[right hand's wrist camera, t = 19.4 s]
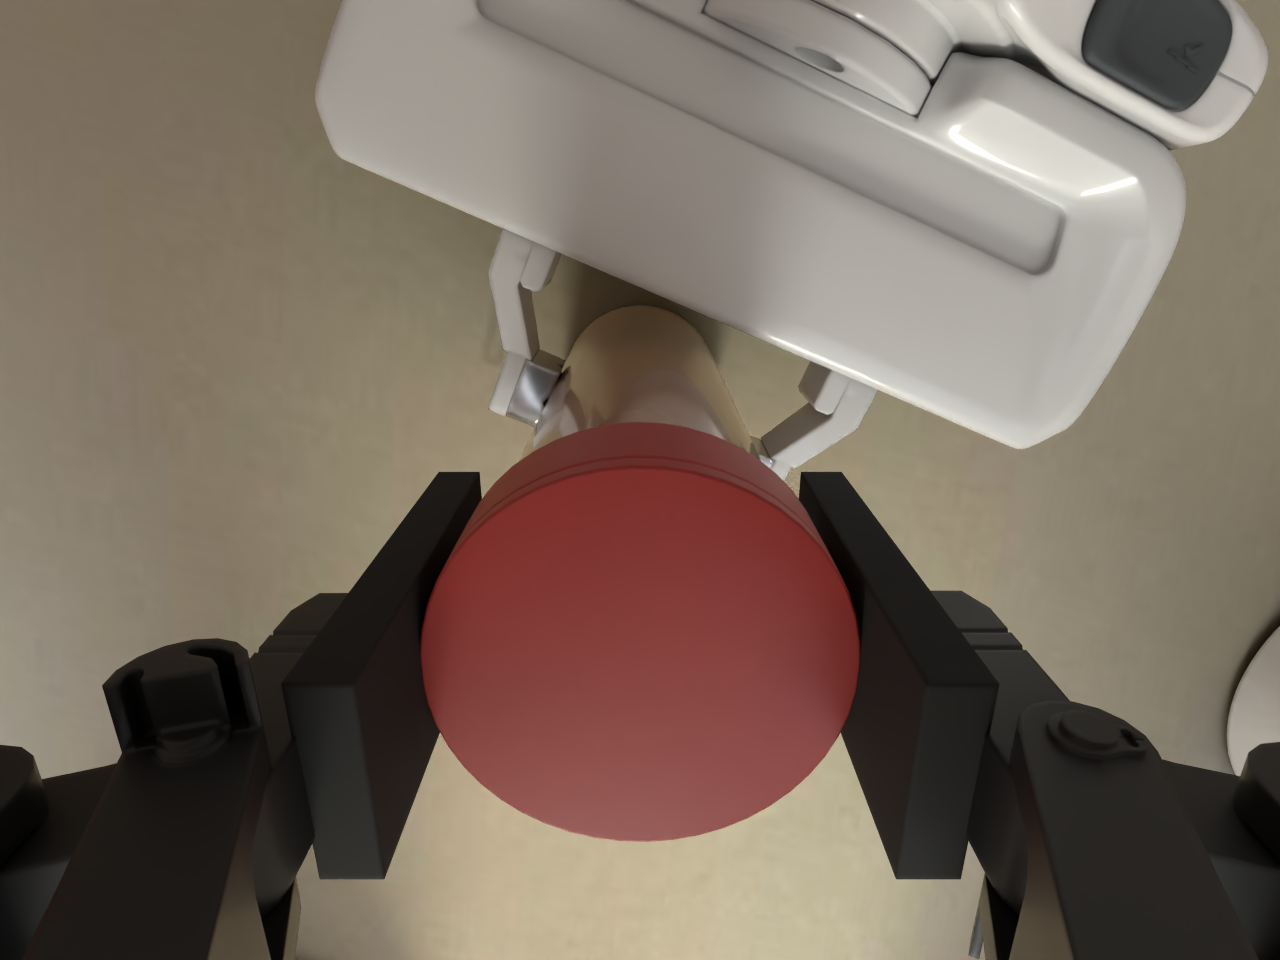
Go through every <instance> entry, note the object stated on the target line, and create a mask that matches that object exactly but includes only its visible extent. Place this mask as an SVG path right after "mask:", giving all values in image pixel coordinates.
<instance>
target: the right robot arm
mask: <svg viewBox="0 0 1280 960" xmlns="http://www.w3.org/2000/svg"><path fill="white" fill-rule="evenodd" d="M481 500H482V498H481V485H480V473H479V472H439V473H438V474H437V475H436V477H435V478H434V479H433V481H432V482H431V483H430V485H429V486H428V487H427V489H426V490H425V491H424V493H423V494H422V495H421V497H420V498H419V499H418V501H417V502H416V504H415V505H414V506H413V508H412V509H411V510H410V512H409V513H408V514H407V516H406V517H405V518H404V520H403V521H402V522H401V524H400V525H399V526H398V528H397V529H396V530H395V532H394V533H393V534H392V536H391V537H390V538H389V540H388V541H387V542H386V544H385V545H384V546H383V548H382V549H381V550H380V552H379V553H378V554H377V556H376V557H375V558H374V560H373V561H372V562H371V564H370V565H369V566H368V568H367V569H366V571H365V572H364V573H363V575H362V576H361V577H360V579H359V580H358V581H357V583H356V584H355V585H354V587H353V588H352V589H351V591H350V592H349V593H319V594H317V595H316V596H314V597H313V598H311V599H309V600H308V601H306V602H304V603H303V604H301V605H299V606H298V607H296V608H295V609H293V610H291V611H290V612H289V614H288V615H287V616H286V617H285V618H284V619H283V621H282V622H281V623H280V624H279V625H278V626H277V628H276V629H275V630H274V631H273V635H270V636H269V637H268V638H267V639H266V640H265V642H264V643H263V644H262V645H261V646H260V647H259V652H258V653H254V654H253V656H252V657H251V658H250V659H249V656H248V651H247V650H246V649H245V648H244V647H242V646H241V645H240V644H238V643H237V642H234V641H228V640H223V639H218V638H215V639H198V640H189V641H185V642H181V643H176V644H172V645H168V646H164V647H161V648H159V649H156V650H154V651H151V652H149V653H146V654H144V655H141V656H139V657H137V658H135V659H134V660H132V661H131V662H129V663H127V664H126V665H124V666H123V667H121V668H119V669H118V670H116V671H115V672H114V673H113V674H112V675H111V677H110V678H109V679H108V680H107V681H106V682H105V683H104V684H103V685H102V687H103V690H104V694H105V697H106V700H107V704H108V707H109V710H110V714H111V717H112V721H113V724H114V727H115V731H116V734H117V737H118V741H119V744H120V747H121V751H122V754H121V756H120V758H119V760H118V763H116V764H112V765H108V766H104V767H99V768H95V769H90V770H85V771H80V772H75V773H70V774H66V775H61V776H56V777H51V778H46V779H41V776H40V773H39V770H38V768H37V765H36V762H35V759H34V756H33V755H32V754H30V753H29V752H28V751H26V750H25V749H23V748H22V747H16V746H6V745H0V960H295V953H296V945H297V937H298V929H299V920H300V912H301V903H300V896H299V890H298V885H297V880H296V874H297V872H298V870H299V868H300V866H301V865H302V863H303V861H304V859H305V857H306V855H307V853H308V851H309V849H310V847H311V845H312V843H313V848H314V853H315V858H316V863H317V868H318V873H319V878H320V879H385V876H386V873H387V871H388V868H389V865H390V863H391V860H392V857H393V855H394V852H395V849H396V847H397V844H398V841H399V839H400V836H401V834H402V831H403V828H404V826H405V823H406V820H407V818H408V815H409V812H410V810H411V807H412V804H413V802H414V799H415V797H416V794H417V791H418V789H419V786H420V783H421V781H422V778H423V775H424V773H425V770H426V767H427V765H428V762H429V759H430V757H431V754H432V752H433V749H434V746H435V744H436V741H437V738H438V736H439V733H440V731H439V729H438V727H437V726H436V723H435V721H434V718H433V716H432V713H431V711H430V708H429V706H428V703H427V699H426V695H425V691H424V683H423V675H422V667H421V658H420V640H421V628H422V624H423V619H424V615H425V611H426V606H427V603H428V600H429V598H430V595H431V593H432V590H433V588H434V585H435V583H436V580H437V578H438V577H439V575H440V573H441V571H442V569H443V568H444V565H445V564H446V562H447V560H448V558H449V556H450V554H451V553H452V551H453V549H454V547H455V545H456V543H457V541H458V540H459V538H460V536H461V534H462V532H463V530H464V528H465V527H466V525H467V523H468V521H469V519H470V518H471V516H472V514H473V513H474V511H475V509H476V507H477V506H478V504H479V502H480V501H481ZM799 501H800V502H801V504H802V505H803V507H804V508H805V509H806V511H807V513H808V515H809V517H810V518H811V520H812V522H813V524H814V526H815V528H816V530H817V531H818V533H819V535H820V537H821V539H822V541H823V543H824V544H825V546H826V548H827V550H828V552H829V554H830V556H831V558H832V559H833V561H834V563H835V565H836V567H837V569H838V571H839V573H840V575H841V577H842V579H843V581H844V583H845V585H846V587H847V589H848V591H849V593H850V597H851V600H852V603H853V606H854V609H855V612H856V615H857V621H858V628H859V634H860V663H859V671H858V679H857V687H856V694H855V697H854V700H853V703H852V706H851V709H850V713H849V715H848V717H847V719H846V721H845V724H844V726H843V728H842V730H841V734H842V737H843V740H844V742H845V745H846V748H847V750H848V753H849V756H850V758H851V761H852V764H853V766H854V769H855V772H856V774H857V777H858V779H859V782H860V785H861V787H862V790H863V793H864V795H865V798H866V801H867V803H868V806H869V809H870V811H871V814H872V816H873V819H874V822H875V824H876V827H877V830H878V832H879V835H880V838H881V840H882V843H883V846H884V848H885V851H886V854H887V856H888V859H889V861H890V864H891V867H892V869H893V872H894V875H895V877H896V879H961V875H962V870H963V865H964V860H965V855H966V850H967V845H968V840H969V842H970V844H971V846H972V848H973V850H974V852H975V854H976V856H977V858H978V860H979V862H980V864H981V866H982V867H983V869H984V871H985V876H984V880H983V885H982V890H981V894H980V899H979V904H978V909H977V913H976V918H975V923H974V927H973V932H972V937H971V942H970V949H969V956H971V957H975V958H978V959H979V957H980V952H981V948H982V943H984V951H985V959H986V960H1280V742H1273V743H1263V744H1259V745H1258V746H1257V747H1255V748H1254V749H1252V750H1251V751H1250V752H1248V755H1247V758H1246V761H1245V764H1244V767H1243V769H1242V772H1241V775H1240V776H1236V775H1231V774H1226V773H1221V772H1217V771H1212V770H1207V769H1202V768H1197V767H1192V766H1188V765H1183V764H1178V763H1174V762H1170V761H1166V760H1162V759H1161V757H1160V755H1159V753H1158V751H1157V750H1156V749H1155V747H1154V746H1153V745H1152V744H1151V742H1150V741H1149V740H1148V739H1147V737H1146V736H1145V735H1144V734H1142V733H1141V732H1140V731H1138V730H1137V729H1136V728H1134V727H1133V726H1131V725H1130V724H1129V723H1127V722H1126V721H1124V720H1122V719H1120V718H1118V717H1116V716H1114V715H1112V714H1109V713H1107V712H1105V711H1103V710H1101V709H1098V708H1095V707H1091V706H1087V705H1083V704H1080V703H1076V702H1070V700H1069V699H1068V698H1067V697H1066V696H1065V695H1064V693H1063V692H1062V691H1061V690H1060V689H1059V688H1058V686H1057V685H1056V684H1055V683H1054V682H1053V681H1052V680H1051V678H1050V677H1049V676H1048V675H1047V674H1046V673H1045V671H1044V670H1043V669H1042V668H1041V667H1040V666H1039V664H1038V663H1037V662H1036V661H1035V660H1034V659H1033V657H1032V656H1031V655H1030V654H1029V653H1028V652H1027V651H1026V650H1023V649H1022V645H1021V644H1020V642H1019V641H1018V640H1017V639H1016V638H1015V637H1014V635H1013V634H1012V633H1008V628H1007V627H1006V626H1005V625H1004V624H1003V623H1002V622H1001V620H1000V619H999V618H998V617H997V616H996V615H995V613H994V612H993V611H992V610H991V609H990V608H989V607H987V606H986V605H984V604H982V603H981V602H979V601H977V600H976V599H974V598H972V597H971V596H969V595H967V594H966V593H964V592H962V591H930V590H929V589H928V587H927V586H926V585H925V583H924V582H923V581H922V579H921V578H920V577H919V575H918V574H917V573H916V571H915V570H914V569H913V567H912V566H911V564H910V563H909V562H908V560H907V559H906V558H905V556H904V555H903V554H902V552H901V551H900V550H899V548H898V547H897V546H896V544H895V543H894V542H893V540H892V539H891V538H890V536H889V535H888V534H887V532H886V531H885V530H884V528H883V527H882V526H881V524H880V523H879V522H878V520H877V519H876V518H875V516H874V515H873V514H872V512H871V511H870V510H869V508H868V507H867V506H866V504H865V503H864V502H863V500H862V499H861V498H860V496H859V495H858V493H857V492H856V491H855V489H854V488H853V487H852V485H851V484H850V483H849V481H848V480H847V479H846V477H845V476H844V475H843V473H842V472H801V479H800V491H799Z"/></svg>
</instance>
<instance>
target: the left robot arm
mask: <svg viewBox="0 0 1280 960" xmlns="http://www.w3.org/2000/svg"><path fill="white" fill-rule="evenodd" d="M1267 67H1268V50H1267V47H1266V44H1265V41H1264V39H1263V37H1262V35H1261V33H1260V31H1259V30H1258V28H1257V27H1256V26H1255V24H1254V23H1253V21H1252V20H1251V19H1250V17H1249V16H1248V15H1247V13H1246V12H1245V11H1244V9H1243V8H1242V7H1241V6H1240V4H1239V3H1238V2H1237V1H1236V0H342V1H341V4H340V7H339V10H338V13H337V16H336V19H335V22H334V25H333V28H332V31H331V34H330V38H329V41H328V44H327V47H326V51H325V54H324V57H323V60H322V64H321V67H320V71H319V75H318V79H317V82H316V89H315V102H316V107H317V110H318V113H319V115H320V118H321V121H322V123H323V126H324V129H325V131H326V134H327V136H328V139H329V141H330V144H331V146H332V148H333V150H334V152H335V153H336V154H337V155H338V156H339V157H340V158H342V159H344V160H346V161H348V162H350V163H352V164H355V165H357V166H359V167H361V168H364V169H366V170H368V171H371V172H373V173H375V174H378V175H380V176H382V177H385V178H387V179H389V180H392V181H394V182H396V183H399V184H401V185H403V186H406V187H408V188H410V189H413V190H415V191H417V192H420V193H422V194H424V195H427V196H429V197H431V198H433V199H436V200H438V201H440V202H443V203H445V204H447V205H450V206H452V207H454V208H457V209H459V210H461V211H464V212H466V213H468V214H471V215H473V216H475V217H478V218H480V219H482V220H485V221H487V222H489V223H492V224H494V225H496V226H499V227H501V228H503V229H502V232H501V235H500V238H499V241H498V244H497V247H496V250H495V253H494V256H493V259H492V262H491V265H490V268H489V271H488V276H489V281H490V286H491V291H492V296H493V301H494V306H495V311H496V316H497V321H498V325H499V330H500V335H501V340H502V345H503V349H504V350H506V351H508V352H507V355H506V358H505V361H504V364H503V366H502V369H501V372H500V375H499V378H498V380H497V383H496V386H495V389H494V392H493V394H492V397H491V400H490V404H489V410H492V411H494V412H496V413H498V414H500V415H503V416H507V417H509V418H512V419H515V420H517V421H520V422H523V423H525V424H528V425H531V426H533V427H535V426H536V424H537V422H538V420H539V417H540V415H541V413H542V411H543V409H544V407H545V405H546V402H547V400H548V398H549V396H550V394H551V393H552V391H553V389H554V387H555V385H556V383H557V381H558V378H559V376H560V374H561V371H562V369H563V366H564V364H565V361H566V360H564V359H561V358H559V357H557V356H554V355H552V354H550V353H548V352H545V351H543V350H541V349H539V348H540V345H539V339H538V333H537V326H536V320H535V313H534V307H533V301H532V294H531V290H532V291H534V292H538V291H540V290H542V289H543V288H544V287H545V286H546V285H548V284H549V283H550V282H551V280H552V277H553V275H554V272H555V269H556V267H557V264H558V261H559V259H560V256H561V254H564V255H566V256H568V257H571V258H573V259H575V260H578V261H580V262H582V263H584V264H587V265H589V266H591V267H594V268H596V269H598V270H601V271H603V272H605V273H608V274H610V275H612V276H615V277H617V278H619V279H622V280H624V281H626V282H629V283H631V284H633V285H636V286H638V287H640V288H643V289H645V290H647V291H650V292H652V293H654V294H657V295H659V296H661V297H663V298H666V299H668V300H670V301H673V302H675V303H677V304H680V305H682V306H684V307H687V308H689V309H691V310H694V311H696V312H698V313H701V314H703V315H705V316H708V317H710V318H712V319H715V320H717V321H719V322H722V323H724V324H726V325H729V326H731V327H733V328H735V329H738V330H740V331H742V332H745V333H747V334H749V335H752V336H754V337H756V338H759V339H761V340H763V341H766V342H768V343H770V344H773V345H775V346H777V347H780V348H782V349H784V350H787V351H789V352H791V353H794V354H796V355H798V356H801V357H803V358H805V359H808V360H810V363H809V366H808V368H807V370H806V372H805V374H804V376H803V378H802V380H801V382H800V384H799V386H798V387H799V390H800V392H801V393H802V394H803V396H804V397H805V398H806V399H807V400H808V401H809V403H808V404H806V405H805V406H804V407H802V408H801V409H800V410H798V411H797V412H795V413H794V414H793V415H791V416H790V417H789V418H787V419H786V420H785V421H783V422H782V423H780V424H779V425H778V426H776V427H775V428H774V429H772V430H771V431H770V432H768V433H767V434H765V435H764V436H763V437H761V440H760V439H757V438H755V437H752V436H750V435H749V436H750V438H751V440H752V442H753V444H754V447H755V449H756V451H757V453H758V455H759V457H760V459H761V461H762V462H763V463H764V464H765V465H766V466H768V467H769V468H770V469H771V470H772V471H774V472H775V473H776V474H777V475H778V476H779V477H780V478H781V479H782V480H783V481H784V479H785V478H786V476H787V474H788V472H789V470H790V468H791V467H793V468H797V467H798V466H800V465H801V464H803V463H804V462H806V461H808V460H809V459H811V458H812V457H814V456H815V455H817V454H818V453H820V452H822V451H823V450H825V449H826V448H828V447H829V446H831V445H833V444H834V443H836V442H837V441H839V440H840V439H842V438H843V437H845V436H847V435H848V434H850V433H851V432H853V431H854V430H856V429H857V428H858V426H859V424H860V422H861V421H862V419H863V417H864V415H865V413H866V411H867V410H868V408H869V406H870V404H871V402H872V400H873V399H874V397H875V395H876V393H877V391H878V390H880V391H882V392H884V393H886V394H889V395H891V396H893V397H896V398H898V399H900V400H903V401H905V402H907V403H910V404H912V405H914V406H917V407H919V408H921V409H924V410H926V411H928V412H931V413H933V414H935V415H938V416H940V417H942V418H945V419H947V420H949V421H952V422H954V423H956V424H959V425H961V426H963V427H965V428H968V429H970V430H972V431H975V432H977V433H979V434H982V435H984V436H986V437H989V438H991V439H993V440H996V441H998V442H1000V443H1003V444H1005V445H1008V446H1010V447H1012V448H1015V449H1026V448H1028V447H1031V446H1033V445H1035V444H1038V443H1040V442H1042V441H1044V440H1046V439H1048V438H1050V437H1052V436H1054V435H1056V434H1058V433H1060V432H1061V431H1063V430H1065V429H1067V428H1068V427H1069V426H1071V425H1072V424H1073V423H1074V422H1075V420H1076V419H1077V418H1078V417H1079V416H1080V415H1081V414H1082V412H1083V411H1084V409H1085V408H1086V406H1087V405H1088V404H1089V402H1090V401H1091V399H1092V398H1093V397H1094V395H1095V394H1096V392H1097V390H1098V389H1099V387H1100V386H1101V384H1102V382H1103V381H1104V379H1105V378H1106V376H1107V375H1108V373H1109V371H1110V370H1111V368H1112V367H1113V365H1114V363H1115V362H1116V360H1117V358H1118V356H1119V355H1120V353H1121V351H1122V350H1123V348H1124V346H1125V345H1126V343H1127V341H1128V339H1129V338H1130V336H1131V334H1132V332H1133V331H1134V329H1135V327H1136V325H1137V324H1138V322H1139V320H1140V318H1141V316H1142V315H1143V313H1144V311H1145V309H1146V308H1147V306H1148V304H1149V302H1150V300H1151V298H1152V296H1153V294H1154V292H1155V290H1156V288H1157V286H1158V284H1159V282H1160V280H1161V278H1162V276H1163V274H1164V272H1165V270H1166V268H1167V266H1168V264H1169V262H1170V260H1171V258H1172V255H1173V253H1174V251H1175V248H1176V246H1177V243H1178V240H1179V237H1180V234H1181V231H1182V227H1183V223H1184V219H1185V212H1186V198H1187V197H1186V185H1185V180H1184V176H1183V173H1182V171H1181V168H1180V166H1179V164H1178V162H1177V161H1176V159H1175V157H1174V156H1173V155H1172V154H1171V152H1170V151H1169V150H1175V149H1179V148H1184V147H1189V146H1193V145H1198V144H1202V143H1206V142H1210V141H1213V140H1216V139H1217V138H1219V137H1221V136H1222V135H1224V134H1225V133H1226V132H1227V131H1228V130H1229V129H1231V127H1232V126H1233V125H1234V124H1235V123H1236V122H1237V120H1238V119H1239V118H1240V117H1241V115H1242V114H1243V113H1244V111H1245V110H1246V108H1247V107H1248V105H1249V104H1250V102H1251V101H1252V99H1253V96H1255V95H1256V93H1257V91H1258V89H1259V88H1260V86H1261V84H1262V82H1263V79H1264V77H1265V74H1266V71H1267ZM1273 742H1280V626H1279V627H1278V628H1277V629H1276V630H1275V631H1274V632H1273V634H1272V635H1271V636H1270V637H1269V638H1268V639H1267V640H1266V642H1265V643H1264V644H1263V646H1262V647H1261V648H1260V649H1259V651H1258V652H1257V654H1256V655H1255V657H1254V658H1253V659H1252V661H1251V662H1250V664H1249V666H1248V668H1247V669H1246V671H1245V673H1244V675H1243V677H1242V679H1241V681H1240V683H1239V685H1238V687H1237V690H1236V692H1235V695H1234V698H1233V701H1232V704H1231V708H1230V712H1229V717H1228V723H1227V748H1228V755H1229V758H1230V762H1231V765H1232V768H1233V771H1234V773H1235V775H1236V776H1240V775H1241V772H1242V769H1243V767H1244V764H1245V761H1246V758H1247V755H1248V752H1250V751H1251V750H1252V749H1254V748H1255V747H1257V746H1258V745H1259V744H1263V743H1273Z"/></svg>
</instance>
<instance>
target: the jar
mask: <svg viewBox="0 0 1280 960" xmlns="http://www.w3.org/2000/svg"><path fill="white" fill-rule="evenodd" d="M629 422H648V423H664V424H670V425H677V426H683V427H688V428H691V429H695V430H698V431H702V432H705V433H709V434H712V435H714V436H716V437H719V438H721V439H723V440H725V441H728V442H730V443H732V444H735V445H736V446H738V447H740V448H741V449H743V450H745V451H746V452H748V453H750V454H751V455H753V456H755V457H756V458H758V459H759V460H760V461H761V459H760V457H759V455H758V453H757V451H756V449H755V447H754V444H753V442H752V440H751V438H750V436H749V434H748V432H747V429H746V427H745V425H744V423H743V421H742V419H741V417H740V415H739V412H738V410H737V408H736V406H735V404H734V402H733V400H732V398H731V395H730V393H729V391H728V389H727V387H726V385H725V383H724V380H723V378H722V376H721V374H720V372H719V370H718V368H717V366H716V363H715V361H714V359H713V357H712V355H711V353H710V351H709V348H708V347H707V345H706V343H705V341H704V339H703V338H702V337H701V335H700V334H699V333H698V331H697V330H696V329H695V328H694V327H693V326H692V325H691V324H690V323H688V322H687V321H686V320H684V319H683V318H682V317H680V316H678V315H676V314H675V313H673V312H670V311H668V310H665V309H662V308H658V307H654V306H646V305H634V306H627V307H622V308H618V309H615V310H612V311H610V312H608V313H606V314H604V315H602V316H600V317H599V318H597V319H596V320H595V321H593V322H592V323H591V324H590V325H588V327H587V328H586V329H585V330H584V331H583V332H582V333H581V334H580V336H579V337H578V339H577V340H576V342H575V344H574V345H573V347H572V349H571V351H570V353H569V356H568V358H567V360H566V362H565V364H564V366H563V369H562V371H561V374H560V376H559V378H558V381H557V383H556V385H555V387H554V389H553V391H552V393H551V394H550V396H549V398H548V400H547V402H546V405H545V407H544V409H543V411H542V413H541V415H540V417H539V420H538V422H537V424H536V426H535V428H534V430H533V432H532V434H531V437H530V439H529V441H528V443H527V445H526V447H525V449H524V452H523V454H522V456H521V458H520V460H519V461H521V460H522V459H523V458H525V457H526V456H528V455H529V454H530V453H532V452H533V451H535V450H537V449H539V448H541V447H543V446H545V445H547V444H549V443H550V442H552V441H554V440H556V439H559V438H562V437H564V436H567V435H570V434H573V433H575V432H578V431H581V430H585V429H590V428H594V427H598V426H603V425H608V424H618V423H629ZM761 462H762V461H761Z"/></svg>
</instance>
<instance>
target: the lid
mask: <svg viewBox="0 0 1280 960" xmlns="http://www.w3.org/2000/svg"><path fill="white" fill-rule="evenodd" d="M420 658H421V667H422V675H423V683H424V691H425V695H426V699H427V703H428V706H429V708H430V711H431V713H432V716H433V718H434V721H435V723H436V726H437V727H438V729H439V731H440V733H441V734H442V736H443V738H444V740H445V741H446V743H447V745H448V747H449V748H450V749H451V751H452V752H453V753H454V754H455V756H456V757H457V758H458V760H459V761H460V762H461V764H462V765H463V766H464V767H465V768H466V769H467V770H468V771H469V772H470V773H471V774H472V775H473V776H474V777H475V778H476V779H477V780H478V781H479V782H480V783H481V784H482V785H483V786H484V787H486V788H487V789H488V790H489V791H491V792H492V793H493V794H495V795H496V796H497V797H498V798H500V799H501V800H503V801H504V802H506V803H507V804H509V805H511V806H512V807H514V808H516V809H517V810H519V811H521V812H522V813H524V814H526V815H528V816H531V817H533V818H535V819H537V820H539V821H541V822H543V823H545V824H548V825H551V826H554V827H557V828H560V829H563V830H566V831H569V832H572V833H577V834H581V835H585V836H590V837H594V838H601V839H609V840H617V841H640V842H649V841H662V840H674V839H680V838H685V837H691V836H696V835H701V834H704V833H707V832H711V831H714V830H718V829H721V828H724V827H727V826H729V825H732V824H734V823H737V822H739V821H742V820H744V819H746V818H748V817H750V816H752V815H754V814H756V813H758V812H760V811H761V810H763V809H765V808H767V807H769V806H770V805H772V804H773V803H775V802H776V801H778V800H779V799H780V798H782V797H783V796H785V795H786V794H788V793H789V792H790V791H791V790H793V789H794V788H795V787H796V786H797V785H798V784H799V783H800V782H802V781H803V780H804V779H805V778H806V777H807V776H808V775H809V774H810V773H811V772H812V771H813V770H814V768H815V767H816V766H817V765H818V764H819V763H820V762H821V760H822V759H823V758H824V757H825V756H826V754H827V753H828V751H829V750H830V748H831V747H832V745H833V744H834V742H835V741H836V739H837V738H838V736H839V734H840V732H841V730H842V728H843V726H844V724H845V721H846V719H847V717H848V715H849V713H850V709H851V706H852V703H853V700H854V697H855V694H856V687H857V679H858V671H859V663H860V634H859V628H858V621H857V615H856V612H855V609H854V606H853V603H852V600H851V597H850V593H849V591H848V589H847V587H846V585H845V583H844V581H843V579H842V577H841V575H840V573H839V571H838V569H837V567H836V565H835V563H834V561H833V559H832V558H831V556H830V554H829V552H828V550H827V548H826V546H825V544H824V543H823V541H822V539H821V537H820V535H819V533H818V531H817V530H816V528H815V526H814V524H813V522H812V520H811V518H810V517H809V515H808V513H807V511H806V509H805V508H804V507H803V505H802V504H801V502H800V501H799V499H798V498H797V497H796V495H795V494H794V492H793V491H792V490H791V489H790V488H789V487H788V486H787V485H786V483H785V482H784V481H783V480H782V479H781V478H780V477H779V476H778V475H777V474H776V473H775V472H774V471H772V470H771V469H770V468H769V467H768V466H766V465H765V464H764V463H763V462H761V461H760V460H759V459H758V458H756V457H755V456H753V455H751V454H750V453H748V452H746V451H745V450H743V449H741V448H740V447H738V446H736V445H735V444H732V443H730V442H728V441H725V440H723V439H721V438H719V437H716V436H714V435H712V434H709V433H705V432H702V431H698V430H695V429H691V428H688V427H683V426H677V425H670V424H664V423H648V422H629V423H618V424H608V425H603V426H598V427H594V428H590V429H585V430H581V431H578V432H575V433H573V434H570V435H567V436H564V437H562V438H559V439H556V440H554V441H552V442H550V443H549V444H547V445H545V446H543V447H541V448H539V449H537V450H535V451H533V452H532V453H530V454H529V455H528V456H526V457H525V458H523V459H522V460H521V461H519V462H518V463H516V464H515V465H514V466H512V467H511V468H510V469H509V470H508V471H507V472H506V473H505V474H504V475H503V476H502V477H501V478H500V479H498V480H497V481H496V482H495V483H494V485H493V486H492V487H491V488H490V490H489V491H488V492H487V493H486V495H485V496H484V497H483V498H482V500H481V501H480V502H479V504H478V506H477V507H476V509H475V511H474V513H473V514H472V516H471V518H470V519H469V521H468V523H467V525H466V527H465V528H464V530H463V532H462V534H461V536H460V538H459V540H458V541H457V543H456V545H455V547H454V549H453V551H452V553H451V554H450V556H449V558H448V560H447V562H446V564H445V565H444V568H443V569H442V571H441V573H440V575H439V577H438V578H437V580H436V583H435V585H434V588H433V590H432V593H431V595H430V598H429V600H428V603H427V606H426V611H425V615H424V619H423V624H422V628H421V640H420Z"/></svg>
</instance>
